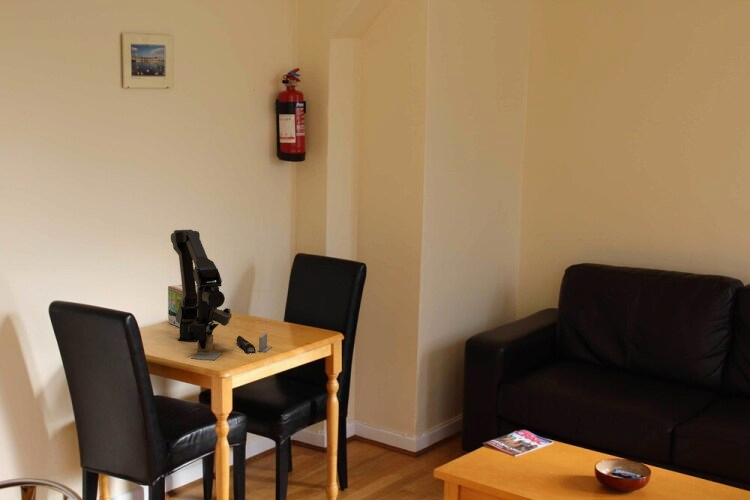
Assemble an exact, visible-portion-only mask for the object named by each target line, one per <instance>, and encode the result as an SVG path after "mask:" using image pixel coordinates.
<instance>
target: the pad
mask: <svg viewBox="0 0 750 500" xmlns="http://www.w3.org/2000/svg"><path fill="white" fill-rule="evenodd" d="M222 355H223V353H219V352H203V351H197V353H195V354H194V355H193V356H191V357H190V359H191V360H200V361H201V360H204V361H216V360H217V359H219V358H220V357H222Z"/></svg>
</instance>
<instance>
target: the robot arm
mask: <svg viewBox="0 0 750 500" xmlns="http://www.w3.org/2000/svg"><path fill="white" fill-rule="evenodd" d="M200 236H201V235H200V232H199V231H198V230H193V229H174V230H173V232H172V233H170V242H171V243H172V247H173V250H174V251H175V253H176V254H177V255H178V261H179V270H180V271H179V272H180V279H181V285H182V290H183V297H182V299H181V301H180V303H179V309H178V311H177V314H176V322H178V323H179V324H180V327H179V338H177V340H178V341H181V342H182V341H184V342H185V341H186V342H196V341H197V343H198V342H199V344H200V346H201V348H202V349H205V346H206V340H207V334H209V335H213V332H214V330H215V329H216V328H217V327H218V326H219V324H220V325H221V326H227V325H228V324H230V320H231V319H232V313H231V309H230V308H228V307H226V308H224V309H223V310H222V309H218V308H221V306H223V304H224V303H225V299H226V297H225V294H224V293H223V292H222V291H221V290H220V287H222V282H223V279H222V277H221V273H220V271H219V269H218V268H217V265H216V264H215V262H214V261H213V260H211V259H209V258H208V255H207V253H206V250H205V248H204V246H203V242H202V240H201V237H200ZM196 286H197V293H196Z"/></svg>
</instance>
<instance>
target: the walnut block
mask: <svg viewBox="0 0 750 500" xmlns="http://www.w3.org/2000/svg"><path fill="white" fill-rule="evenodd" d="M212 350H214V334H212V335H209V334H207V340H206V346H205V349H202V348H201V346H200V344H199V342H198V341H197V352H207V353H211V351H212Z"/></svg>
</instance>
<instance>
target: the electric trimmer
mask: <svg viewBox="0 0 750 500" xmlns="http://www.w3.org/2000/svg"><path fill="white" fill-rule="evenodd" d="M235 341H236V343H237V345H238V347H239V348H241V347H242V349H243V350H244V352H245V354H250V353H251V354H256V347H255V346H254V344H252V343H251V342H250V341H249V340H246V339H245V338H244V337H243V336H241V335H238V336H237V337H236V340H235Z"/></svg>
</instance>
